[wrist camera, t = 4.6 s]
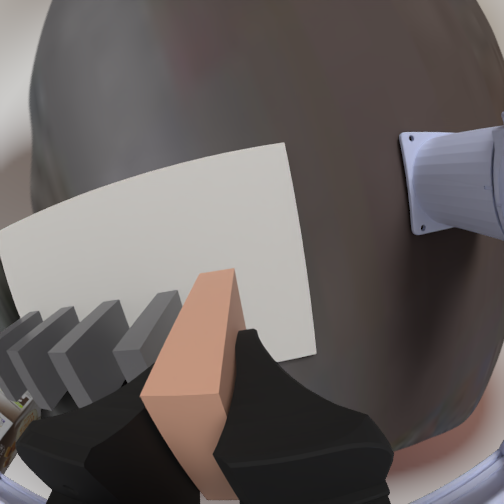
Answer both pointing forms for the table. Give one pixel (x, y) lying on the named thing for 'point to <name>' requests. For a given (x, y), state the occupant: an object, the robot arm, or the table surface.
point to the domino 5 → (198, 379)
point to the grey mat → (173, 245)
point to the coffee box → (14, 424)
